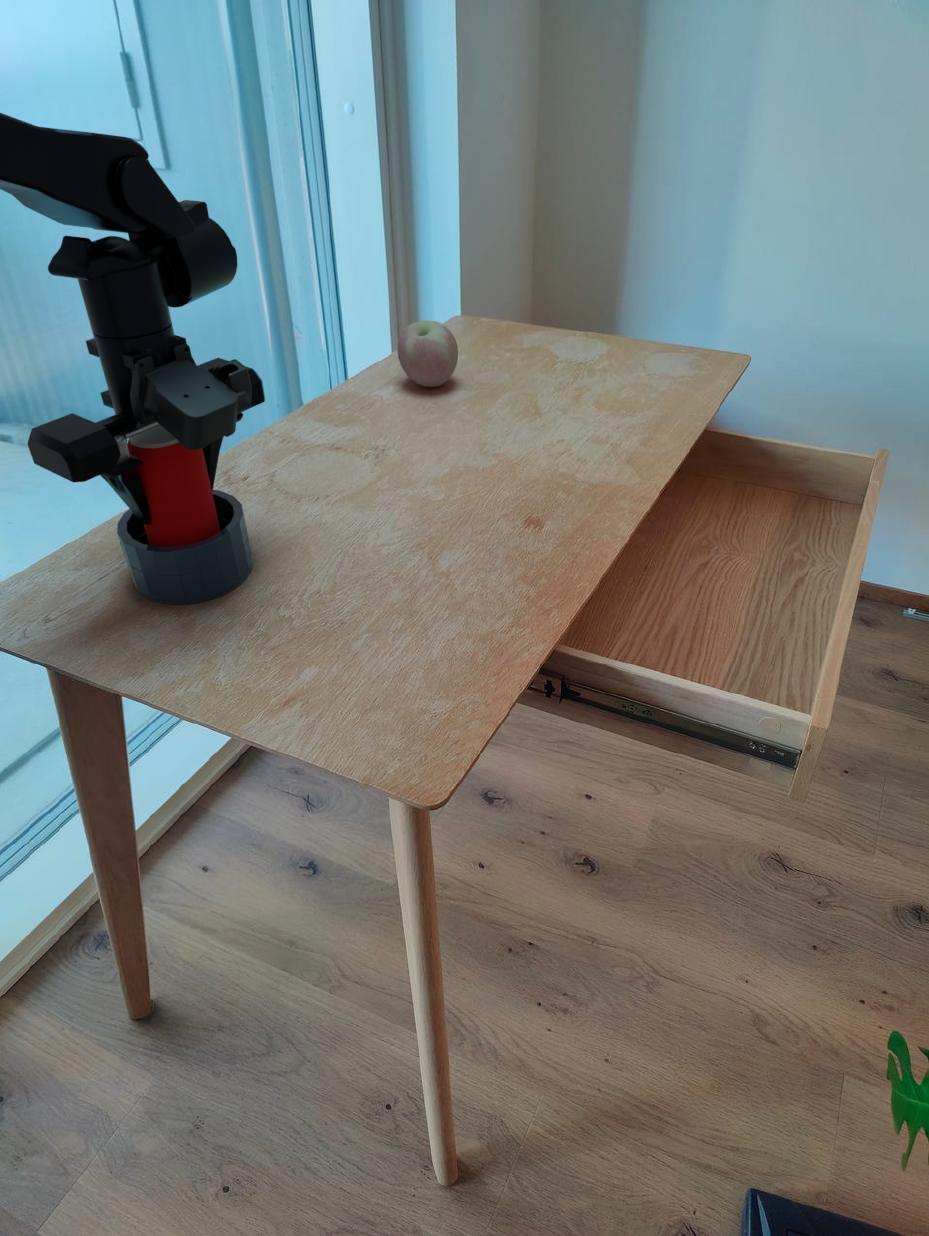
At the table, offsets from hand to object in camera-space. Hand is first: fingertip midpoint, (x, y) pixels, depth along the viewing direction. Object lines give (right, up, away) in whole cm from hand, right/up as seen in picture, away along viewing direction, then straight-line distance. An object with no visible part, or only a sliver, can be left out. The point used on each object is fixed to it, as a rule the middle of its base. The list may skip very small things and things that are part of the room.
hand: (177, 507), depth 72 cm
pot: (0, -5, +4) cm, 7 cm away
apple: (+20, +21, +38) cm, 47 cm away
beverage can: (0, -4, +3) cm, 5 cm away
